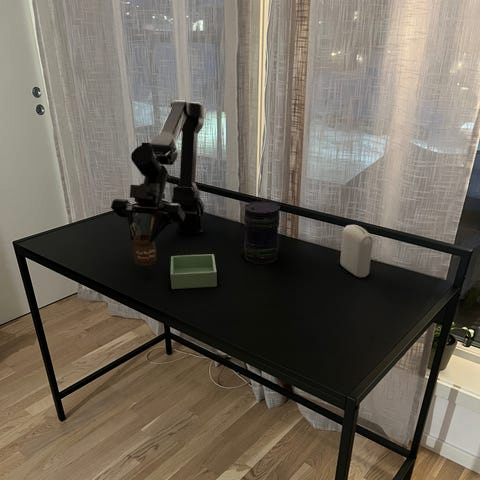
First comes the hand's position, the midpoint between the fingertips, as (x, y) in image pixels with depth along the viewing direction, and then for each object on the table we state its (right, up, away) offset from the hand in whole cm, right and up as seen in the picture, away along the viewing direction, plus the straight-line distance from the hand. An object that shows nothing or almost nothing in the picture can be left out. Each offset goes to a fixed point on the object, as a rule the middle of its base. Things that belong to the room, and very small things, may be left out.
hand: (141, 240), depth 132 cm
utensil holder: (+1, -5, +5) cm, 7 cm away
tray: (+13, -9, +5) cm, 17 cm away
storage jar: (+32, -2, +17) cm, 36 cm away
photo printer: (+57, -7, +9) cm, 58 cm away
